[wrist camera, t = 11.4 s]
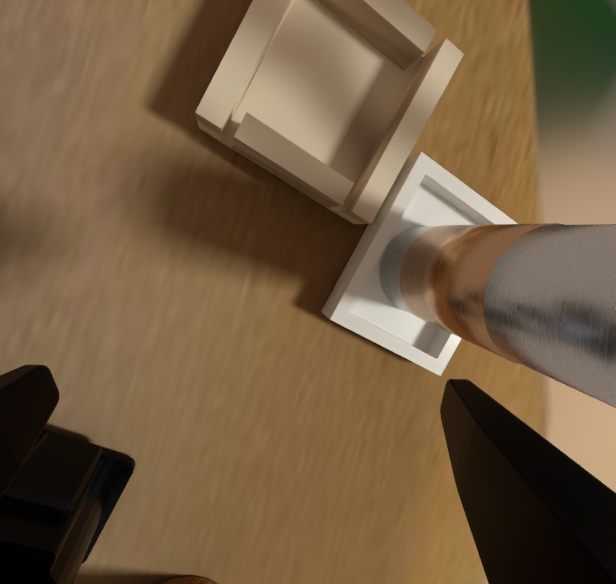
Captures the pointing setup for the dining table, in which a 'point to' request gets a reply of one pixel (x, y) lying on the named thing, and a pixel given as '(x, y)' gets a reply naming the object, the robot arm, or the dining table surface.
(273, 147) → the tray
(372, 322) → the tray
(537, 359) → the battery cell
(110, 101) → the dining table surface
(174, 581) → the disposable coffee cup
